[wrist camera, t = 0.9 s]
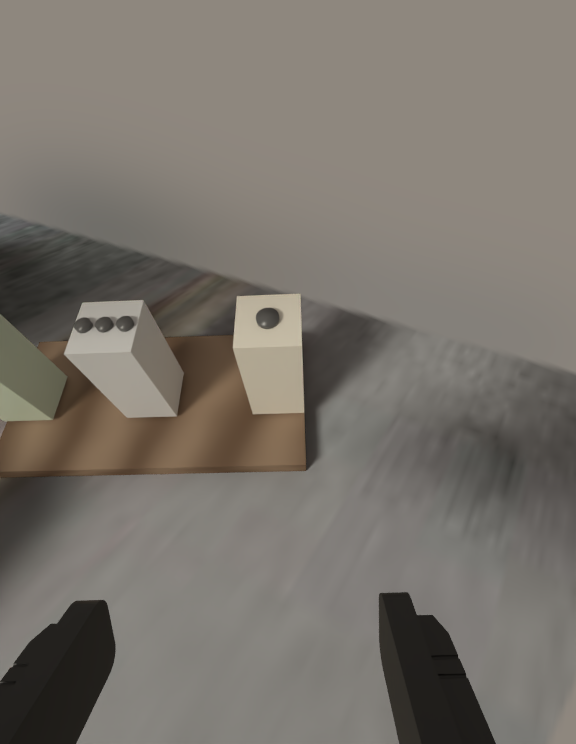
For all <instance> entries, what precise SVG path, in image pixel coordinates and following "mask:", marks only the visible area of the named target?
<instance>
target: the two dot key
mask: <svg viewBox="0 0 576 744" xmlns="http://www.w3.org/2000/svg"><path fill="white" fill-rule="evenodd" d="M67 377H68V376H66V375H65V374H64V373H63V372H62V371H61V370H60V369H59V368H58V367H57V366H56V365H55V364H54V363H52V362H51V361H50V360H49V359H48V358H47V357H46V356H45V355H44V354H43V353H42V352H41V351H40V350H38V349H37V348H36V347H35V346H34V345H33V344H32V343H31V342H30V341H29V340H28V339H27V338H26V337H24V336H23V335H22V334H21V333H20V332H19V331H18V330H17V329H16V328H15V327H14V326H13V325H12V324H11V323H9V322H8V321H7V320H6V319H5V318H4V317H3V316H2V315H1V314H0V419H1V420H3V421H33V420H53V418H54V415H55V412H56V409H57V407H58V404H59V401H60V398H61V395H62V392H63V389H64V386H65V383H66V380H67Z"/></svg>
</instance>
